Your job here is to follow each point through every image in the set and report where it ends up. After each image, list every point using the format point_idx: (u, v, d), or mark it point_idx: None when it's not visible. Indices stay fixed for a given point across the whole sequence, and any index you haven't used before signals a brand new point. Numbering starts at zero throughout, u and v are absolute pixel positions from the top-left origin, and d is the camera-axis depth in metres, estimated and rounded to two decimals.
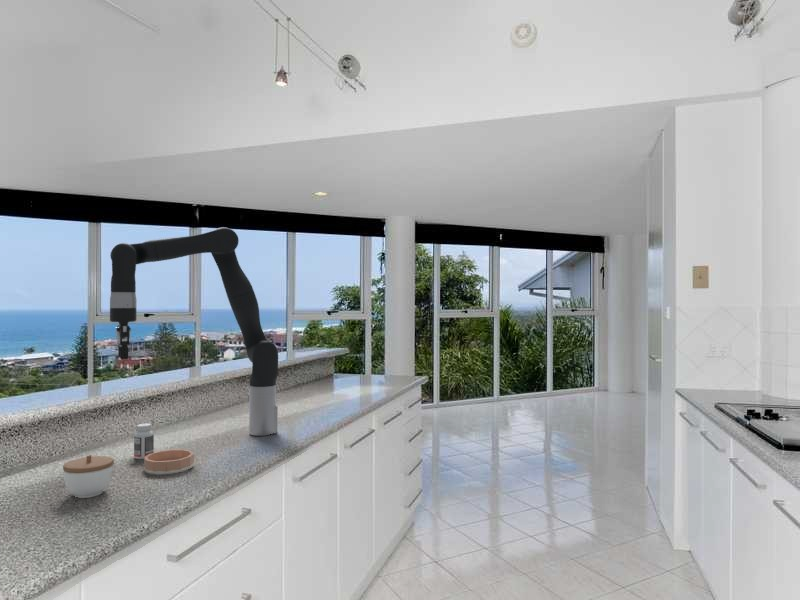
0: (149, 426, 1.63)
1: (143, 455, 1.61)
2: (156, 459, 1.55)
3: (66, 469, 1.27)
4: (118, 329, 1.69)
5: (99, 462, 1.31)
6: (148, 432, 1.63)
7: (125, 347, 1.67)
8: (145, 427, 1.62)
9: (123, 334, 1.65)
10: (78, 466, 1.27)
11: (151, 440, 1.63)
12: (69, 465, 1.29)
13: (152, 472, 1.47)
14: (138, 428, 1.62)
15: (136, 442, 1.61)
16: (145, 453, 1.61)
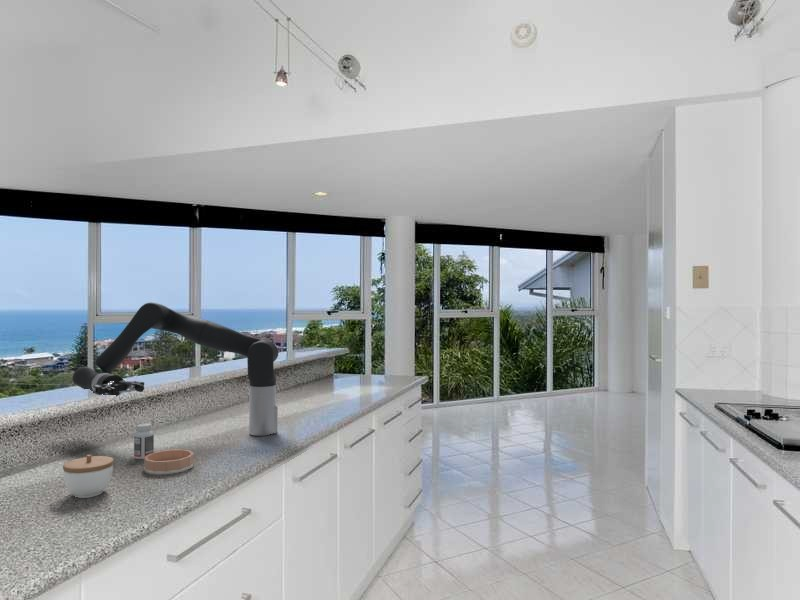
0: (149, 426, 1.63)
1: (143, 455, 1.61)
2: (156, 459, 1.55)
3: (66, 469, 1.27)
4: None
5: (99, 462, 1.31)
6: (148, 432, 1.63)
7: (105, 389, 1.69)
8: (145, 427, 1.62)
9: (95, 390, 1.71)
10: (78, 466, 1.27)
11: (151, 440, 1.63)
12: (69, 465, 1.29)
13: (152, 472, 1.47)
14: (138, 428, 1.62)
15: (136, 442, 1.61)
16: (145, 453, 1.61)
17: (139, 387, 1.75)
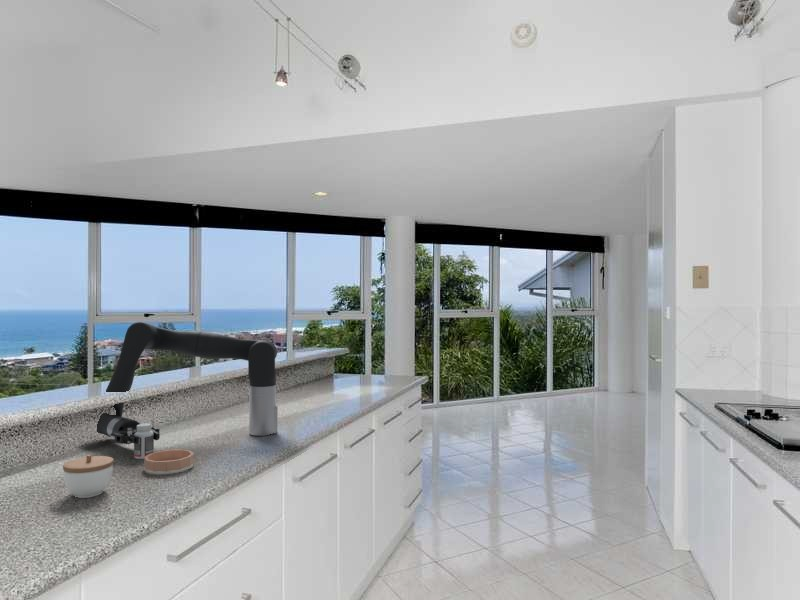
0: (149, 426, 1.63)
1: (143, 455, 1.61)
2: (156, 459, 1.55)
3: (66, 469, 1.27)
4: None
5: (99, 462, 1.31)
6: (148, 432, 1.63)
7: (128, 438, 1.61)
8: (145, 427, 1.62)
9: (115, 439, 1.62)
10: (78, 466, 1.27)
11: (151, 440, 1.63)
12: (69, 465, 1.29)
13: (152, 472, 1.47)
14: (138, 428, 1.62)
15: None
16: (145, 452, 1.61)
17: (154, 435, 1.65)
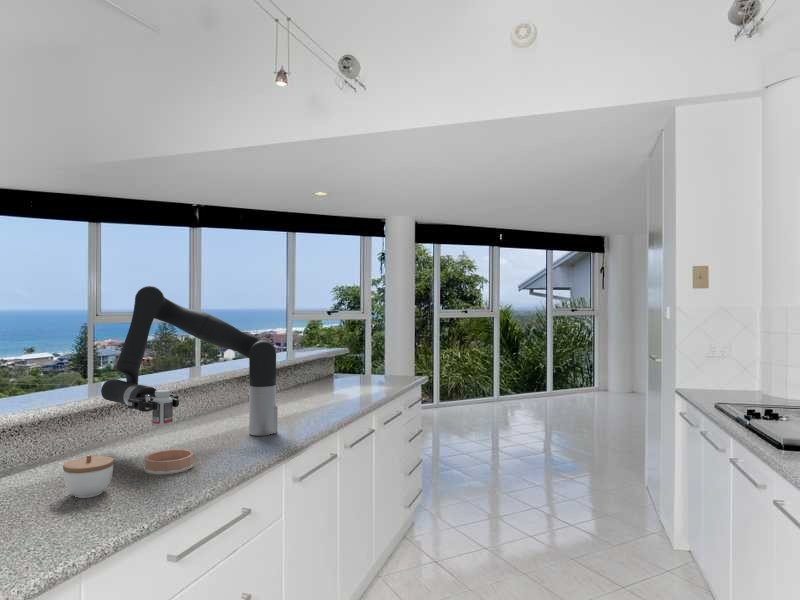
0: (168, 392, 1.55)
1: (162, 422, 1.53)
2: (156, 459, 1.55)
3: (66, 469, 1.27)
4: None
5: (99, 462, 1.31)
6: (167, 398, 1.55)
7: (146, 404, 1.53)
8: (164, 393, 1.54)
9: (132, 405, 1.54)
10: (78, 466, 1.27)
11: (170, 407, 1.55)
12: (69, 465, 1.29)
13: (152, 472, 1.47)
14: (157, 394, 1.54)
15: None
16: (164, 419, 1.53)
17: (174, 402, 1.57)
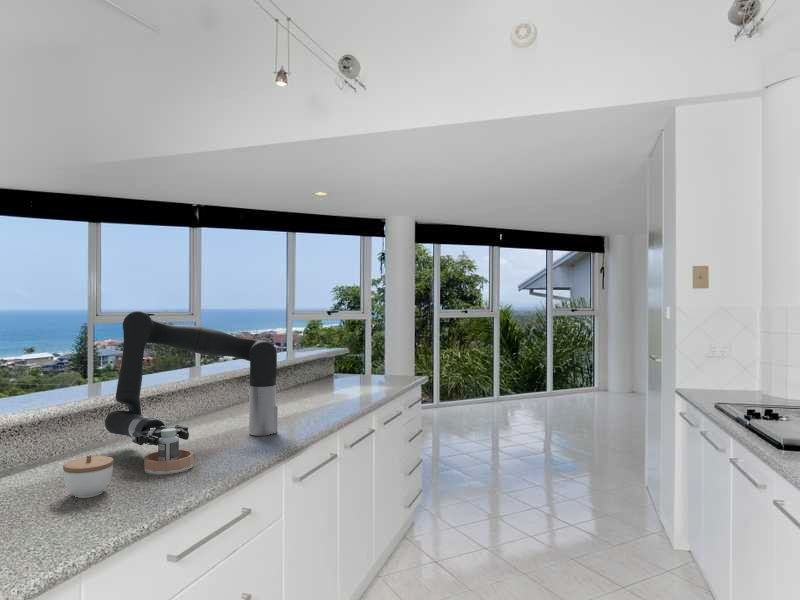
0: (174, 431, 1.52)
1: None
2: (156, 459, 1.55)
3: (66, 469, 1.27)
4: None
5: (99, 462, 1.31)
6: (173, 437, 1.52)
7: (147, 439, 1.50)
8: (170, 432, 1.51)
9: (135, 440, 1.51)
10: (78, 466, 1.27)
11: (176, 446, 1.52)
12: (69, 465, 1.29)
13: (152, 472, 1.47)
14: (162, 433, 1.51)
15: (160, 448, 1.50)
16: None
17: (184, 434, 1.55)
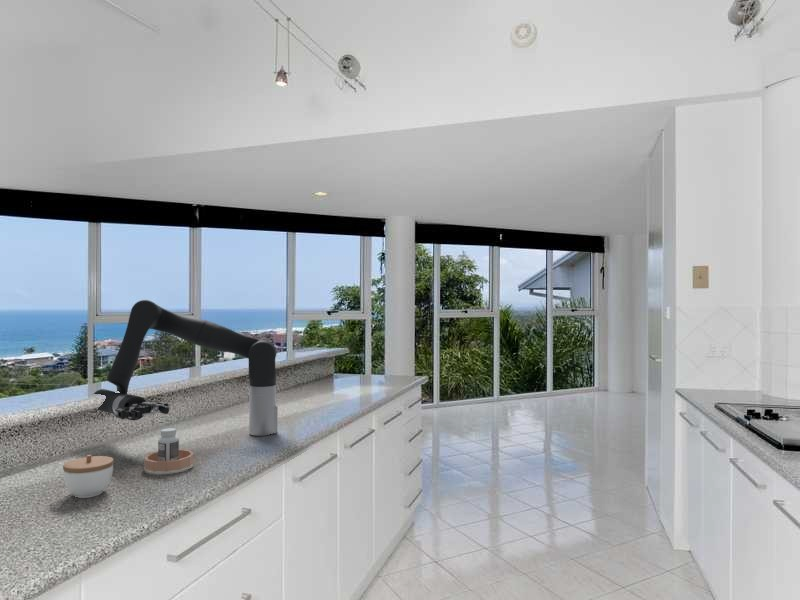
0: (174, 431, 1.52)
1: None
2: (156, 459, 1.55)
3: (66, 469, 1.27)
4: None
5: (99, 462, 1.31)
6: (173, 437, 1.52)
7: (129, 413, 1.59)
8: (170, 432, 1.51)
9: (117, 414, 1.60)
10: (78, 466, 1.27)
11: (176, 446, 1.52)
12: (69, 465, 1.29)
13: (152, 472, 1.47)
14: (162, 433, 1.51)
15: (160, 448, 1.50)
16: None
17: (164, 409, 1.64)
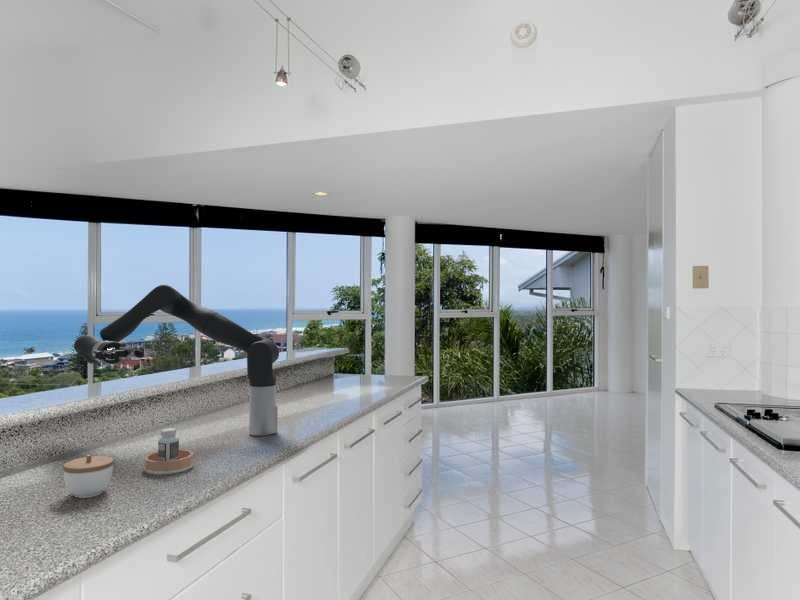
0: (174, 431, 1.52)
1: None
2: (156, 459, 1.55)
3: (66, 469, 1.27)
4: None
5: (99, 462, 1.31)
6: (173, 437, 1.52)
7: (106, 354, 1.71)
8: (170, 432, 1.51)
9: (95, 356, 1.72)
10: (78, 466, 1.27)
11: (176, 446, 1.52)
12: (69, 465, 1.29)
13: (152, 472, 1.47)
14: (162, 433, 1.51)
15: (160, 448, 1.50)
16: None
17: (139, 353, 1.76)
